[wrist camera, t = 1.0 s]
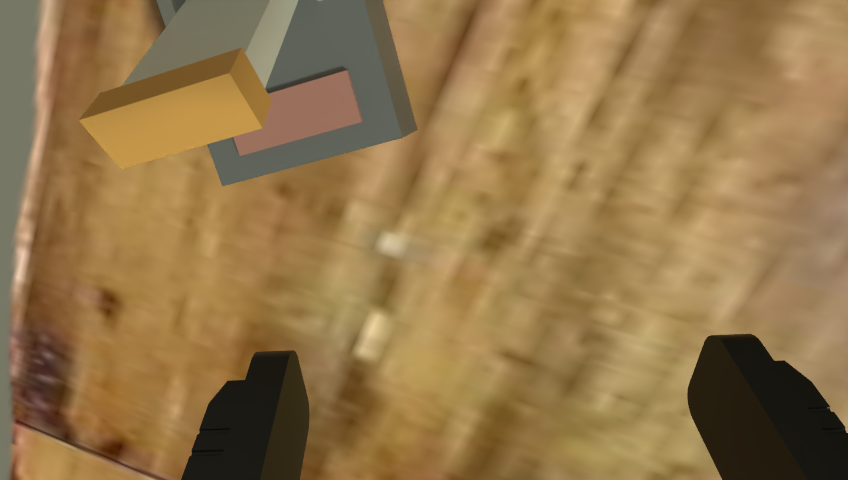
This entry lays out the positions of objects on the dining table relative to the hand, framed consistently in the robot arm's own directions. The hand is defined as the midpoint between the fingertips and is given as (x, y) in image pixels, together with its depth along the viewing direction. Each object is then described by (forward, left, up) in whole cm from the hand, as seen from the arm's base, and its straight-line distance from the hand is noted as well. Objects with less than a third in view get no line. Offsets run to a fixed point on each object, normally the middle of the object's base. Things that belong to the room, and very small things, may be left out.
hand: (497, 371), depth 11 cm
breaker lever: (-2, -18, -22) cm, 28 cm away
